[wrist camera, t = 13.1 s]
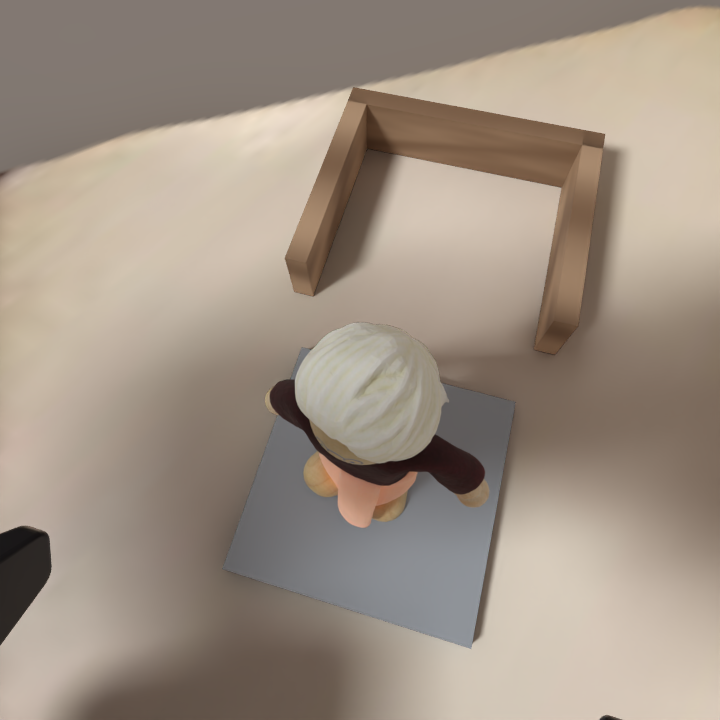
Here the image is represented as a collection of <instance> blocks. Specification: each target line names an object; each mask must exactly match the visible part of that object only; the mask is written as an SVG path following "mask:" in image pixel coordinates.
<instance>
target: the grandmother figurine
mask: <svg viewBox="0 0 720 720" xmlns="http://www.w3.org/2000/svg"><path fill="white" fill-rule="evenodd" d="M445 402H448V403H449V399H448V398H447V394H446V392H445V390H444V387H443V385H442V383H441V381H440V377H439V370H438V367H437V363H436V361H435V359H434V358H433V356H432V355H431V354H430V352H429V350H428V349H427V347H426V346H425V345H424V344H422V343H421V342H419V341H418V340H416V339H414V338H412V337H411V336H410V335H409V334H408V333H407V332H405V331H403V330H402V329H399V328H396V327H393V326H390V325H380V324H376V325H374V324H372V323H367V322H357V323H352V324H349V325H346V326H344V327H342V328H340V329H336V330H333V331H332V332H330V333H328V334H327V335H326V336H325V337H324V338H322V339H321V340H320V341H319V342H318V344H317V345H316V346H315V347H314V348H313V349H312V350H311V351H310V352H309V353H308V355H307V356H306V357H305V359H304V360H303V362H302V363H301V365H300V367H299V370H298V372H297V374H296V378H295V380H292V379H289V380H283V381H280V382H278V383H277V384H276V385H275V386H274V387H272V388H271V389H270V390H269V391H268V392H267V394H266V396H265V404H266V407H267V408H268V410H269V411H270V412H271V413H273V414H276V415H280V416H281V417H282V418H283V419H284V420H286V421H288V422H289V423H291V424H293V425H294V426H296V427H298V428H300V429H302V430H303V431H304V432H305V433H306V435H307V436H308V438H309V440H310V442H311V443H312V444H313V446H314V447H315V449H316V450H317V452H316V453H315V454H313V455H312V456H311V457H310V458H309V459H308V461H307V462H306V464H305V467H304V471H303V475H304V480H305V482H306V484H307V486H308V487H309V488H310V489H311V490H312V491H313V492H315V493H316V494H317V495H320V496H323V497H332V496H336V495H338V508H339V511H340V513H341V515H342V516H343V517H344V519H345V520H346V521H347V522H348V523H350V524H352V525H354V526H357V527H360V528H366V527H368V526H369V525H370V524H371V519H374V520H377V521H380V522H388V521H392V520H394V519H396V518H397V517H399V515H400V514H401V513H402V512H403V510H404V507H405V503H406V498H407V492H408V489H409V488H410V487H411V486H412V485H413V483H414V482H415V480H416V476H417V472H429V473H430V474H431V475H432V476H433V477H434V478H435V479H436V480H437V482H439V483H440V484H442V485H443V486H444V487H446V488H447V489H448V490H449V491H451V492H453V493H454V494H455V495H457V497H458V499H459V500H460V502H461V503H462V504H464V505H465V506H467V507H472V508H475V507H480V506H482V505H483V504H484V503H485V502H486V501H487V499H488V497H489V487H488V484H487V482H486V481H485V480H484V477H485V469H484V467H483V465H482V464H481V462H480V461H479V460H478V459H477V458H476V457H474V456H473V455H471V454H470V453H468V452H466V451H464V450H462V449H460V448H458V447H456V446H454V445H452V444H451V443H449V442H448V441H446V440H444V439H442V438H441V437H439V436H438V435H436V434H435V433H436V431H437V428H438V425H439V421H440V416H441V407H442V406H443V404H444V403H445Z"/></svg>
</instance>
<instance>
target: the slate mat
mask: <svg viewBox="0 0 720 720" xmlns="http://www.w3.org/2000/svg"><path fill="white" fill-rule="evenodd" d="M310 351H311V349H307V348H303V347H302V348H301V351H300V354H299V357H298V359H297V362H296V365H295V368H294V370H293V373H292V376H291V379H292V380H295V378H296V374H297V372H298V370H299V367H300V365H301V363H302V362H303V360H304V359H305V357H306V356H307V355H308V353H309V352H310ZM442 385H443V387H444V390H445V392H446V394H447V398H448V399H449V403H448V402H445V403H444V404H443V406H442V407H441V416H440V421H439V425H438V428H437V431H436V433H435V434H436V435H438V436H439V437H441V438H442V439H444V440H446V441H448V442H449V443H451V444H452V445H454V446H456V447H458V448H460V449H462V450H464V451H466V452H468V453H470V454H471V455H473V456H474V457H476V458H477V459H478V460H479V461H480V462H481V464H482V465H483V467H484V469H485V477H484V480H485V481H486V482H487V484H488V487H489V497H488V499H487V501H486V502H485V503H484V504H483V505H482V506H480V507H475V508H472V507H467V506H465V505H464V504H462V503H461V502H460V500H459V499H458V497H457V495H455V494H454V493H453V492H451V491H449V490H448V489H447V488H446V487H444V486H443V485H442V484H440V483H439V482H437V480H436V479H435V478H434V477H433V476H432V475H431V474H430V473H429V472H417V476H416V480H415V482H414V483H413V485H412V486H411V487H410V488H409V489H408V492H407V498H406V503H405V507H404V510H403V512H402V513H401V514H400V515H399V517H397V518H396V519H394V520H392V521H388V522H380V521H377V520H374V519H371V524H370V525H369V526H368V527H366V528H360V527H357V526H354V525H352V524H350V523H348V522H347V521H346V520H345V519H344V517H343V516H342V515H341V513H340V511H339V508H338V495H336V496H332V497H323V496H320V495H317V494H316V493H315V492H313V491H312V490H311V489H310V488H309V487H308V486H307V484H306V482H305V480H304V475H303V471H304V467H305V464H306V462H307V461H308V459H309V458H310V457H311V456H312V455H313V454H315V453H316V452H317V450H316V449H315V447H314V446H313V444H312V443H311V442H310V440H309V438H308V436H307V435H306V433H305V432H304V431H303V430H302V429H300V428H298V427H296V426H294V425H293V424H291V423H289V422H288V421H286V420H284V419H283V418H282V417H281V416H280V415H277V418H276V421H275V423H274V426H273V429H272V432H271V435H270V437H269V440H268V443H267V446H266V448H265V451H264V454H263V457H262V460H261V462H260V465H259V468H258V471H257V474H256V476H255V479H254V482H253V485H252V487H251V490H250V493H249V496H248V499H247V501H246V504H245V507H244V510H243V512H242V515H241V518H240V521H239V524H238V526H237V529H236V532H235V535H234V538H233V540H232V543H231V546H230V549H229V551H228V554H227V557H226V560H225V563H224V565H223V568H222V569H223V570H226V571H230V572H233V573H236V574H239V575H242V576H245V577H248V578H251V579H255V580H258V581H261V582H264V583H267V584H270V585H273V586H276V587H280V588H283V589H286V590H289V591H292V592H295V593H298V594H301V595H305V596H308V597H311V598H314V599H317V600H320V601H323V602H326V603H330V604H333V605H336V606H339V607H342V608H345V609H348V610H351V611H355V612H358V613H361V614H364V615H367V616H370V617H373V618H376V619H380V620H383V621H386V622H389V623H392V624H395V625H398V626H401V627H405V628H408V629H411V630H414V631H417V632H420V633H423V634H426V635H430V636H433V637H436V638H439V639H442V640H445V641H448V642H452V643H455V644H458V645H461V646H464V647H467V648H470V649H471V647H472V642H473V636H474V631H475V625H476V620H477V614H478V608H479V603H480V597H481V592H482V586H483V581H484V575H485V570H486V564H487V558H488V553H489V547H490V542H491V536H492V531H493V525H494V520H495V514H496V509H497V503H498V497H499V492H500V486H501V481H502V475H503V470H504V464H505V459H506V453H507V447H508V442H509V436H510V431H511V425H512V420H513V414H514V409H515V403H516V402H514V401H510V400H506V399H502V398H498V397H494V396H491V395H487V394H483V393H479V392H475V391H471V390H467V389H463V388H459V387H455V386H451V385H447V384H444V383H442Z"/></svg>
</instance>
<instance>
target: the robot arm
mask: <svg viewBox="0 0 720 720" xmlns="http://www.w3.org/2000/svg"><path fill="white" fill-rule="evenodd" d="M51 567H52V566H51V552H50V539H49V536H48V534H47V533H46V532H45V531H42V530H39V529H36V528H33V527H30V526H20V527H17V528H14V529H11V530H9V531H6V532H4V533H1V534H0V645H1V644H2V643H3V641H4V640H5V638H6V637H7V636H8V634H9V633H10V632H11V630H12V629H13V627H14V626H15V625H16V623H17V622H18V621H19V619H20V618H21V617H22V615H23V614H24V612H25V611H26V610H27V608H28V607H29V606H30V604H31V603H32V602H33V600H34V599H35V597H36V596H37V595H38V593H39V592H40V591H41V589H42V588H43V587H44V585H45V584H46V582H47V580H48V578H49V576H50V573H51ZM600 720H622V719H619V718H616V717H613V716H609V715H605V716H602V717H601V718H600Z"/></svg>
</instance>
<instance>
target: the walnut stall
mask: <svg viewBox="0 0 720 720" xmlns="http://www.w3.org/2000/svg"><path fill="white" fill-rule="evenodd" d="M604 139H605V134H602V133H597V132H592V131H586V130H581V129H575V128H570V127H565V126H559V125H554V124H548V123H543V122H538V121H532V120H527V119H521V118H516V117H511V116H505V115H500V114H494V113H489V112H484V111H478V110H473V109H468V108H462V107H457V106H451V105H446V104H441V103H435V102H430V101H424V100H419V99H414V98H408V97H403V96H397V95H392V94H387V93H381V92H376V91H370V90H365V89H360V88H354V87H353V89H352V92H351V94H350V97H349V99H348V102H347V104H346V107H345V109H344V112H343V114H342V117H341V119H340V122H339V124H338V127H337V129H336V132H335V134H334V137H333V139H332V142H331V144H330V147H329V149H328V152H327V154H326V157H325V159H324V162H323V164H322V167H321V169H320V172H319V174H318V177H317V179H316V182H315V184H314V187H313V189H312V192H311V194H310V197H309V199H308V202H307V204H306V207H305V209H304V211H303V214H302V216H301V219H300V221H299V224H298V226H297V229H296V231H295V234H294V236H293V239H292V241H291V244H290V246H289V249H288V251H287V254H286V256H285V260H286V264H287V267H288V271H289V274H290V278H291V282H292V285H293V289H294V292H298V293H302V294H306V295H310V296H313V295H314V293H315V290H316V287H317V284H318V282H319V279H320V276H321V273H322V271H323V268H324V265H325V262H326V260H327V257H328V254H329V252H330V249H331V246H332V243H333V241H334V238H335V235H336V232H337V230H338V227H339V224H340V221H341V219H342V216H343V213H344V210H345V208H346V205H347V202H348V199H349V197H350V194H351V191H352V188H353V186H354V183H355V180H356V178H357V175H358V172H359V169H360V167H361V164H362V161H363V158H364V156H365V153H366V150H367V148H368V149H373V150H378V151H383V152H387V153H392V154H397V155H402V156H407V157H412V158H417V159H422V160H427V161H432V162H437V163H442V164H447V165H452V166H457V167H462V168H467V169H472V170H477V171H482V172H487V173H492V174H497V175H502V176H507V177H512V178H517V179H522V180H527V181H532V182H537V183H542V184H547V185H552V186H557V187H562V189H561V195H560V201H559V206H558V212H557V218H556V224H555V230H554V235H553V241H552V247H551V253H550V258H549V264H548V270H547V276H546V282H545V287H544V293H543V299H542V305H541V310H540V316H539V322H538V328H537V333H536V339H535V345H534V350H538V351H542V352H546V353H550V354H554V355H555V354H556V353H557V352H558V350H559V349H560V348H561V347H562V346H563V344H564V343H565V342H566V341H567V339H568V338H569V337H570V336H571V335H572V333H573V332H574V331H575V330H576V328H577V327H578V324H579V317H580V310H581V303H582V296H583V289H584V282H585V275H586V267H587V260H588V253H589V246H590V239H591V232H592V225H593V218H594V210H595V203H596V196H597V189H598V182H599V175H600V168H601V160H602V153H603V146H604Z"/></svg>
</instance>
